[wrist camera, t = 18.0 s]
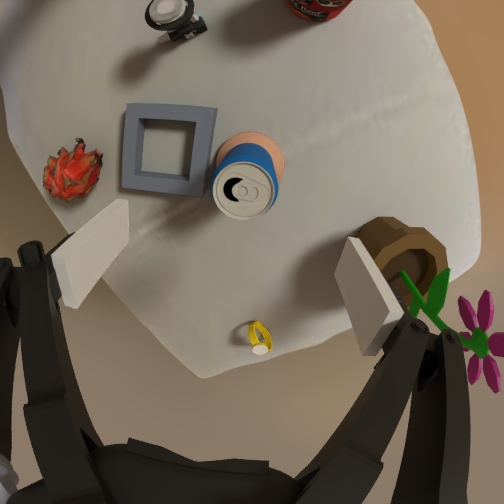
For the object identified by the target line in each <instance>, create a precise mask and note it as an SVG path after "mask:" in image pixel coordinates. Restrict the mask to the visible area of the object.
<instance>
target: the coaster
mask: <svg viewBox="0 0 504 504" xmlns="http://www.w3.org/2000/svg"><path fill="white" fill-rule="evenodd" d="M242 143H255V144H258V145H260V146H262V147H263V148H265V149H266V150H267V151H268V152H269V154H270V155H271V157H272V160H273V164H274V168H275V172H276V176H277V180H278V183H279V181H280V180H281V177H282V175H283V171H284V159H283V155H282V153H281V151H280V149H279V147H278V146H277V144H276V143H275V142H274V141H273V140H272V139H270V138H269V137H267V136H265V135H263V134H260V133H256V132H244V133H240V134H237V135H235V136H233V137H231V138H230V139H229V140H227V141H226V142H225V143H224V144H223V146H222V147H221V149H220V151H219V153H218V155H217V159H216V168H217V167H218V166H219V164H220V163H221V162H222V160H223V159H224V157H225V156H226V155H227V153H228V152H229V151H230V150H231V149H232V148H233V147H235V146H237V145H239V144H242Z"/></svg>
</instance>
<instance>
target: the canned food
mask: <svg viewBox="0 0 504 504" xmlns="http://www.w3.org/2000/svg"><path fill="white" fill-rule="evenodd" d="M351 1H352V0H286V3H287V5H288V6H289V8H290V9H291V10H292V11H293V12H294V13H295V14H296V15H298V16H300V17H301V18H304V19H307V20H311V21H326V20H330V19H333V18H335V17H336V16H338V15H339V14H340V13H341V12H342V11H343V10H344V9H345V8H346V7H347V5H348V4H349V3H350V2H351Z"/></svg>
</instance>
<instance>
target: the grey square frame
mask: <svg viewBox="0 0 504 504" xmlns="http://www.w3.org/2000/svg"><path fill="white" fill-rule="evenodd" d="M217 109H218V108H209V107H199V106H187V105H172V104H140V103H133V104H127V107H126V116H125V127H124V140H123V157H122V188H130V189H139V190H147V191H155V192H163V193H171V194H178V195H185V196H192V197H199V198H202V197H203V196H204V194H205V193H206V185H207V177H208V169H209V162H210V155H211V148H212V141H213V134H214V128H215V122H216V115H217ZM145 118H149V119H168V120H182V121H193V122H196V128H195V135H194V143H193V151H192V159H191V168H190V177H189V176H181V175H173V174H165V173H156V172H146V171H141V167H142V151H143V139H144V128H145Z"/></svg>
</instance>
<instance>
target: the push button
mask: <svg viewBox="0 0 504 504" xmlns="http://www.w3.org/2000/svg"><path fill="white" fill-rule="evenodd" d="M185 1H187V3H188V6H187V5H186V2H185ZM193 10H194V2H193V0H152V1H151V2H150V4H149V5H148V7H147V9H146V12H145V20H146V22H147V24H148V25H149V26H150V27H152V28H154V29H156V30H161V31H165V30H166V31H167V33H165V35H163V36H161V37H163V38H162V39H161V37H159V38H158V41H159V42H161V43H164V42H166V41H168V40H169V41H171V40H172V41H176V40H179V39H181V38H183V37H186V38H187V39H190V38H192V37H195V35H194V34H193V33H195V32H198V31H199V32H204V31H207V30H208V29H207V27H206V24H205V22H204V20H203V18H202V16H201V15H200V14H196V15H194V11H193ZM156 22H157V23H160V24H161V25H158V24H156ZM190 36H192V37H190ZM163 40H165V41H163Z"/></svg>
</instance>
